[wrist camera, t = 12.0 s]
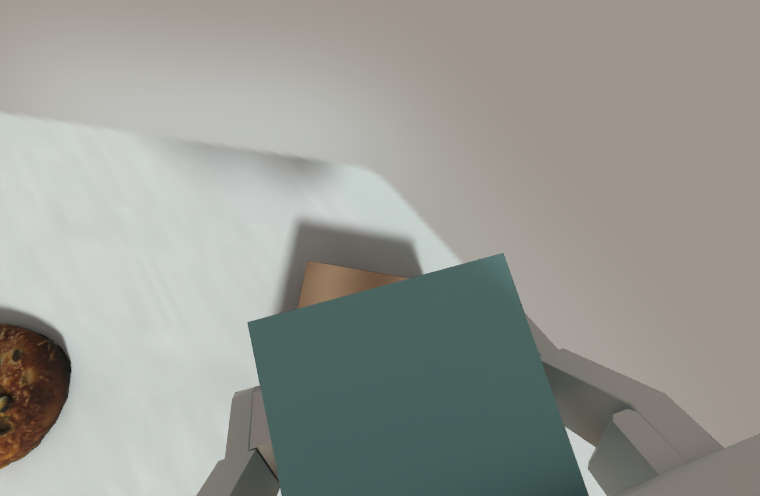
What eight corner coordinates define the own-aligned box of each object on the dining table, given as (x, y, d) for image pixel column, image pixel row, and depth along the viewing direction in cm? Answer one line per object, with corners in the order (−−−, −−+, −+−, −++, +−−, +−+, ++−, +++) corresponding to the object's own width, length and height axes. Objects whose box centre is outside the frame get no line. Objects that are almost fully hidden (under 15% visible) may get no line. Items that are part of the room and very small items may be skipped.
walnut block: (287, 393, 29) (276, 408, 24) (313, 270, 31) (307, 260, 26) (411, 412, 30) (424, 430, 25) (427, 289, 32) (441, 284, 27)
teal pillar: (333, 449, 13) (313, 651, 5) (304, 320, 14) (247, 322, 6) (454, 408, 14) (600, 529, 6) (419, 289, 14) (503, 253, 7)
